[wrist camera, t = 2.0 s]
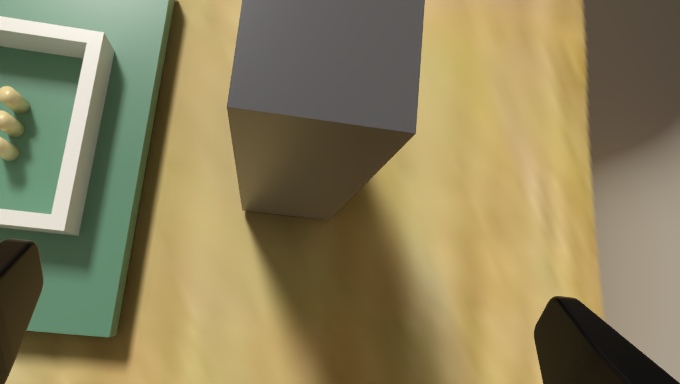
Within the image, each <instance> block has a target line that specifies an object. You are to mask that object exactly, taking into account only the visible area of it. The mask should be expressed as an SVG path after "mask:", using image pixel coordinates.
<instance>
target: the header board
mask: <svg viewBox="0 0 680 384" xmlns="http://www.w3.org/2000/svg"><path fill="white" fill-rule="evenodd" d="M174 2H175V0H0V242H1V241H3V240H5V239H9V238H14V239H24V240H31V241H34V242H35V243H36V244H37V246H38V249H39V255H40V260H41V266H42V272H43V288H42V292H41V294H40V297H39V300H38V302H37V305H36V307H35V310H34V312H33V315H32V318H31V320H30V323H29V325H28V328H27V330H26V331H37V332H49V333H61V334H73V335H85V336H98V337H113V336H116V335H117V330H118V324H119V318H120V312H121V307H122V301H123V295H124V289H125V284H126V278H127V272H128V266H129V261H130V255H131V249H132V243H133V238H134V232H135V226H136V220H137V215H138V209H139V203H140V197H141V192H142V186H143V180H144V174H145V169H146V163H147V157H148V151H149V146H150V140H151V134H152V128H153V123H154V117H155V111H156V105H157V99H158V94H159V88H160V82H161V76H162V71H163V65H164V59H165V53H166V48H167V42H168V36H169V30H170V25H171V19H172V13H173V7H174Z"/></svg>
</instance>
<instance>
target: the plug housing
mask: <svg viewBox="0 0 680 384" xmlns="http://www.w3.org/2000/svg"><path fill="white" fill-rule="evenodd" d="M424 4H425V0H242V6H241V13H240V20H239V27H238V34H237V41H236V48H235V55H234V62H233V68H232V75H231V82H230V89H229V96H228V103H227V110H228V117H229V124H230V130H231V137H232V144H233V150H234V157H235V164H236V170H237V177H238V184H239V191H240V197H241V204H242V210H244V211H253V212H261V213H270V214H278V215H287V216H295V217H304V218H313V219H321V220H330V219H331V218H332V217H333V216H334V215H335V214H336V213H337V212H338V211H339V210H340V209H341V208H342V207H343V206H344V205H345V204H346V203H347V202H348V201H349V200H350V199H351V198H352V197H353V196H354V195H355V194H356V193H357V192H358V191H359V190H360V189H361V188H362V187H363V186H364V185H365V184H366V183H367V182H368V181H369V180H370V179H371V178H372V177H373V176H374V175H375V174H376V173H377V172H378V171H379V170H380V169H381V168H382V167H383V166H384V165H385V164H386V163H387V162H388V161H389V160H390V159H391V158H392V157H393V156H394V155H395V154H396V153H397V152H398V151H399V150H400V149H401V148H402V147H403V146H404V145H405V144H406V143H407V142H408V141H409V140H410V139H411V138H412V137H413V136H414V135H415V134H416V122H417V107H418V92H419V77H420V63H421V48H422V33H423V18H424Z"/></svg>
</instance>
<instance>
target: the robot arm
mask: <svg viewBox="0 0 680 384" xmlns="http://www.w3.org/2000/svg"><path fill="white" fill-rule="evenodd" d="M42 288H43V272H42V266H41V260H40V255H39V249H38V246H37V244H36V243H35V242H34V241H31V240H24V239H14V238H9V239H5V240H3V241H1V242H0V384H5V382H6V380H7V378H8V376H9V373H10V371H11V369H12V366H13V364H14V361H15V359H16V356H17V354H18V351H19V349H20V346H21V343H22V341H23V338H24V336H25V333H26V330H27V328H28V325H29V323H30V320H31V318H32V315H33V312H34V310H35V307H36V305H37V302H38V300H39V297H40V294H41V292H42ZM534 339H535V344H536V349H537V355H538V360H539V365H540V370H541V375H542V380H543V384H680V383H679V382H678V381H676V380H675V379H674V378H673V377H671V376H670V375H669V374H668V373H667V372H665V371H664V370H663V369H662V368H660V367H659V366H658V365H657V364H656V363H654V362H653V361H652V360H651V359H650V358H648V357H647V356H646V355H644V354H643V353H642V352H641V351H640V350H638V349H637V348H636V347H635V346H634V345H632V344H631V343H630V342H629V341H627V340H626V339H625V338H624V337H622V336H621V335H620V334H619V333H618V332H617V331H615V330H614V329H613V328H612V327H610V326H609V325H608V324H607V323H606V322H604V321H603V320H602V319H601V318H600V317H598V316H597V315H596V314H595V313H593V312H592V311H591V310H590V309H589V308H587V307H586V306H585V305H584V304H582V303H581V302H580V301H579V300H577V299H575V298H571V297H562V296H555V297H553V298H551V299H550V301H549V302H548V304H547V306H546V308H545V309H544V311H543V313H542V315H541V317H540V318H539V320H538V322H537V324H536V326H535V330H534Z"/></svg>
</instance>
